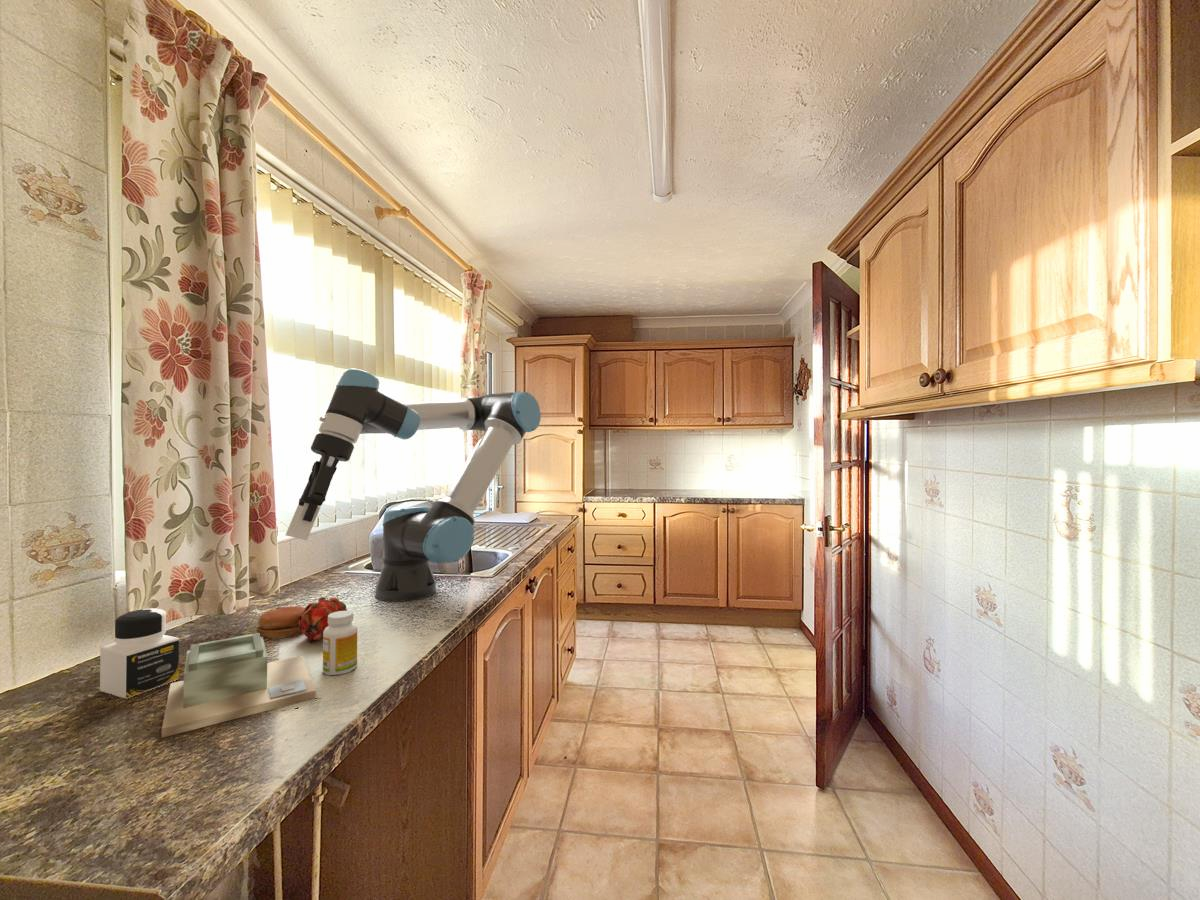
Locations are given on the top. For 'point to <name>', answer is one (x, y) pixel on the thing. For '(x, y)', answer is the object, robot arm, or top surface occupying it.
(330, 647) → the supplement bottle
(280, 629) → the burger
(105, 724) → the top surface
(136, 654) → the medicine bottle
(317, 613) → the dragon fruit
